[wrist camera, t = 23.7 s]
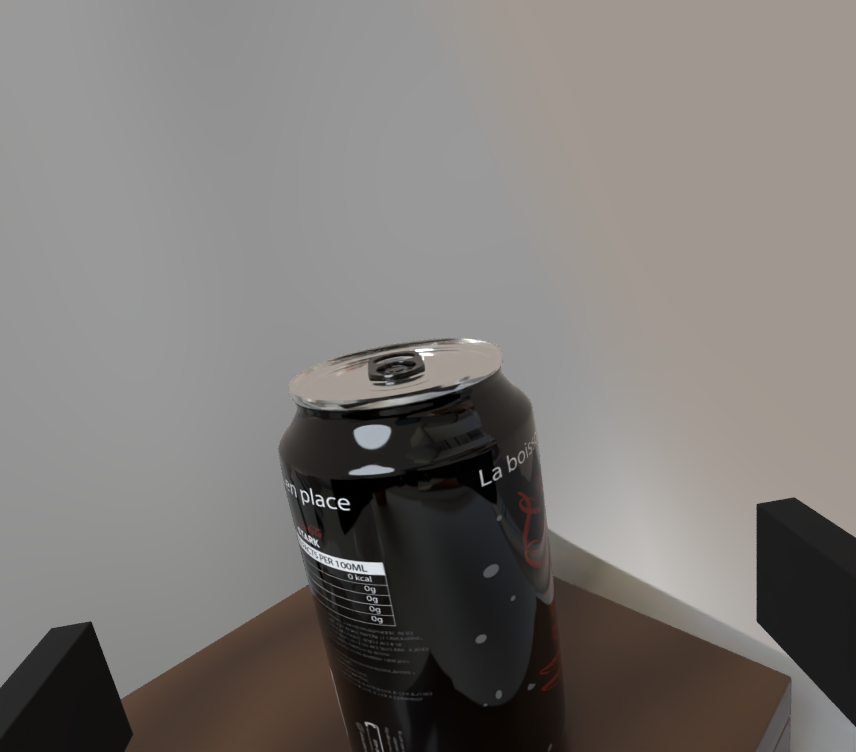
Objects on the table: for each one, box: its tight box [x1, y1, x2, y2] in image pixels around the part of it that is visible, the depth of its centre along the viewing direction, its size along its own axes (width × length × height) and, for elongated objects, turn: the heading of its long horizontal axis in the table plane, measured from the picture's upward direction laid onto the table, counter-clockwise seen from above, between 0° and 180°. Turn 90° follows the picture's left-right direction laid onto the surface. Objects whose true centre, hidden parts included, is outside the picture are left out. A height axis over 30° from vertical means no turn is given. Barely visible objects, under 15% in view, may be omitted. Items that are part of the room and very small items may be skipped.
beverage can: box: [278, 338, 566, 752], centre depth 16 cm, size 7×7×12 cm
